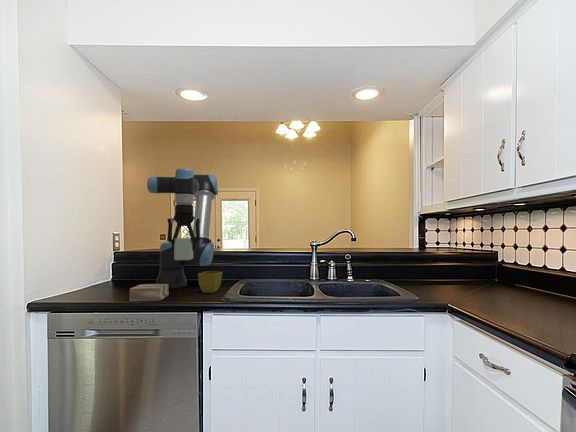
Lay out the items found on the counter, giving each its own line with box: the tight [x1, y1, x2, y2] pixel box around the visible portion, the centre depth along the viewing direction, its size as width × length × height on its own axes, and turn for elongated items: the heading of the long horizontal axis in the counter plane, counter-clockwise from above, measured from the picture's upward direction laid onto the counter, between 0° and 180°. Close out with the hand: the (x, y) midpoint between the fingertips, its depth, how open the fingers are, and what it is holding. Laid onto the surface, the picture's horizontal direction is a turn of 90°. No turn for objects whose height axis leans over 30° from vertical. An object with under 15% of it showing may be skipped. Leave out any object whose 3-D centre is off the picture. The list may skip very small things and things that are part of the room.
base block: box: [128, 283, 170, 302], centre depth 144 cm, size 12×12×5 cm
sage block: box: [175, 237, 192, 260], centre depth 146 cm, size 6×6×9 cm
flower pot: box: [197, 271, 223, 294], centre depth 158 cm, size 9×9×9 cm
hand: (183, 258), depth 146 cm, fingers closed on sage block, 6 cm apart
